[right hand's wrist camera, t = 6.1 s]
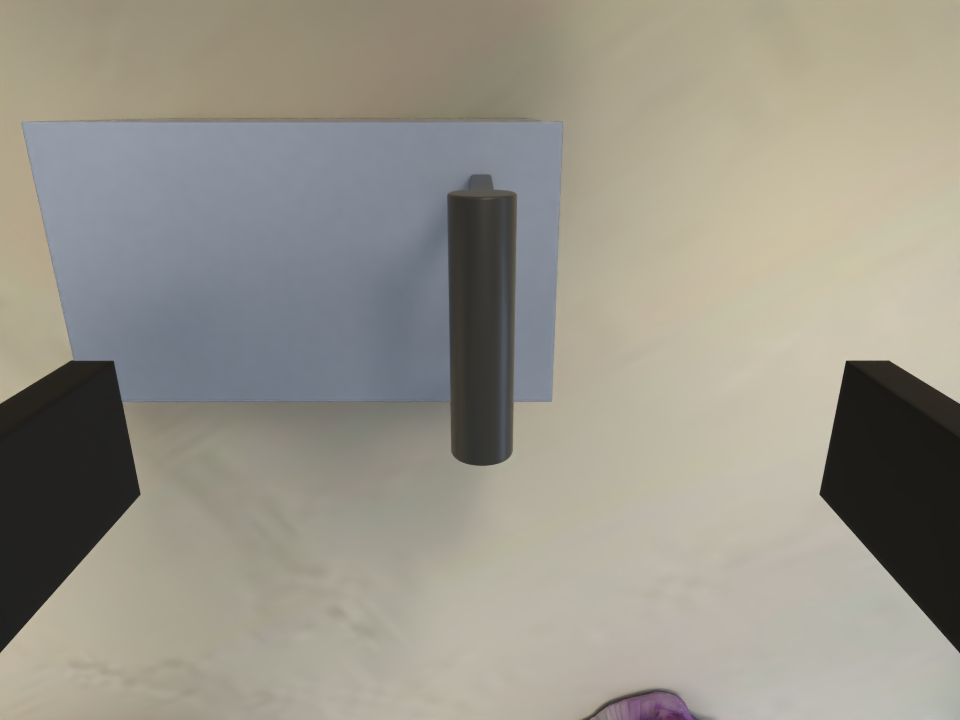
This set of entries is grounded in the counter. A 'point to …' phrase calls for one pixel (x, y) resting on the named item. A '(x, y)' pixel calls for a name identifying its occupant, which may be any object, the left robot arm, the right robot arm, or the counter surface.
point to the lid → (311, 261)
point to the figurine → (647, 708)
